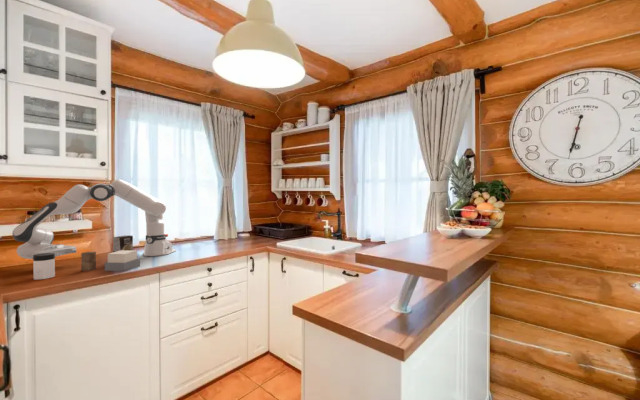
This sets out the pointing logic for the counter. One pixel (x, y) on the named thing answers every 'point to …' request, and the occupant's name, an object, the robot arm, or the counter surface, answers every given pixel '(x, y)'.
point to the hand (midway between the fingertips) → (67, 252)
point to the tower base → (122, 265)
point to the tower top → (122, 256)
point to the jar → (44, 265)
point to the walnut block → (88, 261)
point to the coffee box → (122, 243)
